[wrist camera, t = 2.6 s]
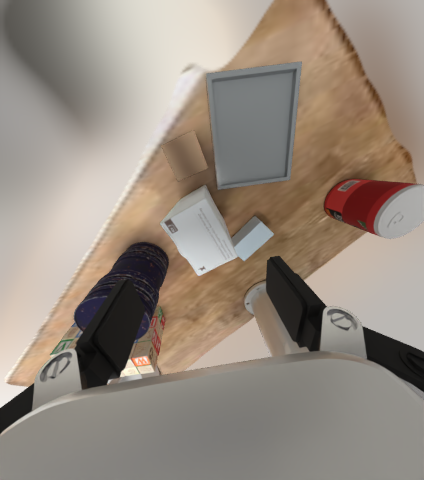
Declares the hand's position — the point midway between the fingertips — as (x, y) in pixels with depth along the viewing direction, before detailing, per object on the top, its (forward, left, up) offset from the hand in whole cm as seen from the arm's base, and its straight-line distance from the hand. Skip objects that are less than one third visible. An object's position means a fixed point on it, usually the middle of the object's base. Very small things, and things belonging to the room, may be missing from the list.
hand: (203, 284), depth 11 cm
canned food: (-29, +2, -22) cm, 36 cm away
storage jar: (+14, +10, -22) cm, 28 cm away
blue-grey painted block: (-9, +7, -22) cm, 25 cm away
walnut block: (+1, -9, -22) cm, 23 cm away
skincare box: (0, 0, -22) cm, 22 cm away
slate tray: (-10, -11, -22) cm, 26 cm away
